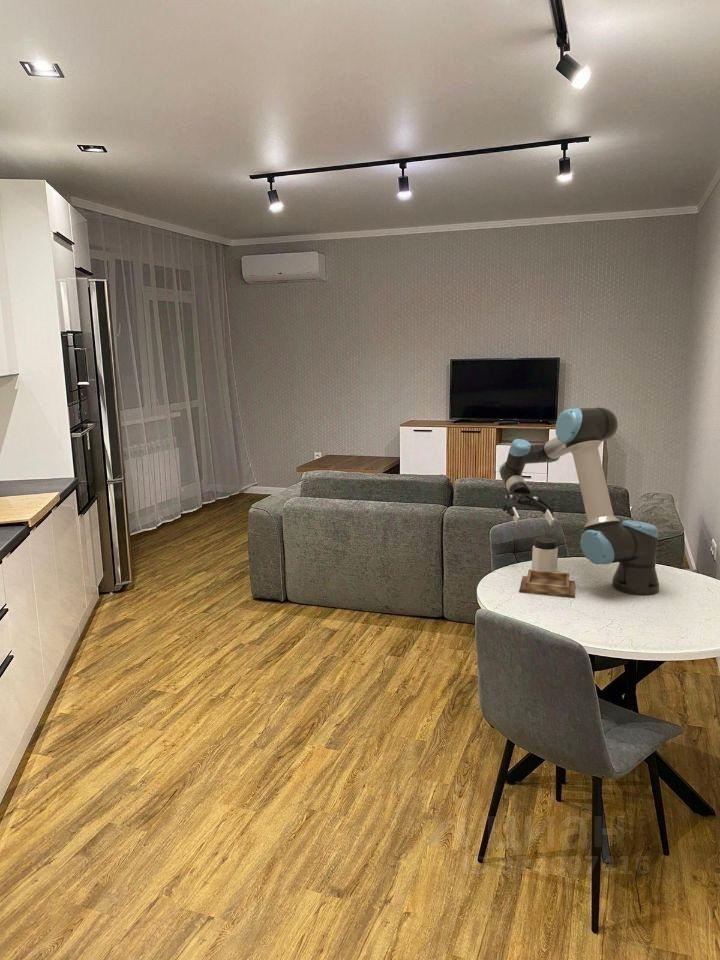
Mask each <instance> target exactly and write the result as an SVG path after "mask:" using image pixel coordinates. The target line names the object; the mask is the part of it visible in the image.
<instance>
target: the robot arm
mask: <svg viewBox="0 0 720 960" xmlns="http://www.w3.org/2000/svg"><path fill="white" fill-rule="evenodd" d="M618 427H619V422H618V418H617V416H616V415H615V413H614V412H613V411H611V410H610V409H609V408H606V407H605V408H604V407H574V408H568V409H565V410H563V411H562V412H561V413H559V415H558V417H557V419H556V423H555V427H554V428H555V435H556V437H554V438H551V439H550V440H548V441H546V442H542V443H539V444H538V443H537V444H531V443H530V442H529V441H528V440H526V439H521V438H516V439H514V440H513V441H512V442H511V444H510V447H509V449H508V454H507V458H506V460H505V462H503V463H502V464H501V465H499V469H498V471H499V475H500V479H501V480H502V481H503V483H504V486H505V488H506V489H507V491H508V492H506V494H505V496H504V503H503V506H502V511H503V512H506V514H507V515H509V516H510V517H512V519H513V521H514V523H515V524H519V521H520V516H519V514H518V512H517V509H516V507H517V506H519V505H520V506H528V507H530V508H534V509H536V510H537V511H540V512H541V513H543V514H544V517H545V518H546V520H547V523H548V524H549V526H550V527H551V526H553V525H554V522H555V518H554V511H555V507H553V506H552V505H551V504H550V503H548V502H547V501H546V500H545V499H543V498H542V497H541V496H540V495H539V494H536V496H533V495H532V493H531V491H530V490H531V489H530V488H529V486H528V484H527V482H526V481H525V479H524V476H523V475H522V474H523V471H524V469H525V467H526V465H527V464H539V463H540V464H541V463H542V464H543V463H544V464H545V463H547V464H549V463H554V462H557V461H559V459H560V458H561V457H562V456H565V455H567V454H569V453H571V454H572V457H573V462H574V465H575V470H576V475H577V479H578V484H579V488H580V494H581V498H582V502H583V506H584V510H585V515H586V519H587V522H586V523H585V525H584V532H583V533H582V534H581V537H580V538H581V539H580V544H579V545H580V549H581V551H582V554H583V556H584V557H585V559H587V560H588V561H589V562H591V563H592V564H595V565H610V564H613V563H618V565H617V568H616V570H615V572H614V574H613V577H612V580H611V586H612V588H614V589H616V590H618V591H621V592H623V593H627V594H631V595H638V596H639V595H641V596H643V595H644V596H646V595H647V596H648V595H654V594H656V593H658V592H659V591H660V581H659V578H658V573H657V570H656V564H657V563H656V562H657V555H658V554H657V553H658V545H659V542H658V541H659V529H658V527H657V526H656V525H654V524H651V523H648V522H645V521H638V520H631V519H629V520H628V519H626V520H623V521H622V523H621V520H620V519H619V518H617V517H615V514H614V511H613V507H612V503H611V499H610V493H609V489H608V485H607V481H606V477H605V472H604V468H603V464H602V460H601V456H600V450H599V447H600V446H601V444H602V442H604V441H607V440H609V439H611V438H612V437H614V435H615V434H616V433H617V432H618V431H617V430H618ZM510 500H513V501H512V502H511V503H510V504H509V502H510ZM508 504H509V505H508Z"/></svg>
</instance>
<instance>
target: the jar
mask: <svg viewBox="0 0 720 960" xmlns="http://www.w3.org/2000/svg"><path fill="white" fill-rule="evenodd" d="M558 552H559V547H558V540H557V539H556V538H553V537H549V536H548V537H546V536H540V537H535V538H534V545H532V553H531V554H532V557H531V570H538V571H548V572H558V571H557V570H558V554H559V553H558Z"/></svg>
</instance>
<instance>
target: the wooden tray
mask: <svg viewBox="0 0 720 960" xmlns="http://www.w3.org/2000/svg"><path fill="white" fill-rule="evenodd" d="M518 592H519V593H522V594H532V593H534V595H541V594H542V596H551V595H552V596H551V597H554V596H555V597H561V598H562V597H563V598H564V597H565V598H571V599H572V598H573V599H575V598H576V580H570V573H567V572H558V571H557V572H548V571H538V570H532V569H528V571H527V575H522V576H521V582H520V585H519V589H518Z"/></svg>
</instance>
